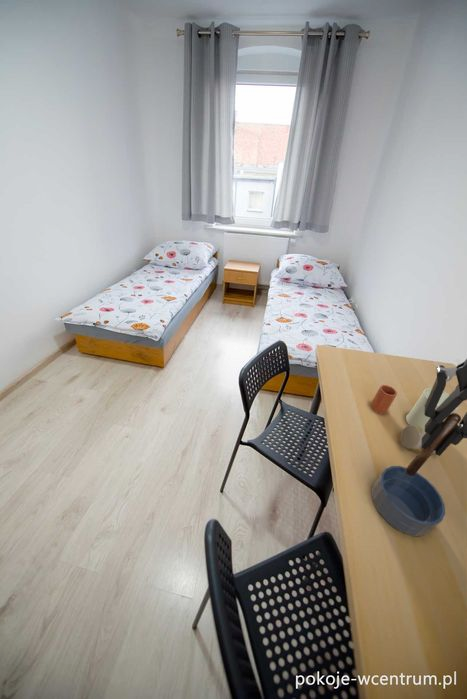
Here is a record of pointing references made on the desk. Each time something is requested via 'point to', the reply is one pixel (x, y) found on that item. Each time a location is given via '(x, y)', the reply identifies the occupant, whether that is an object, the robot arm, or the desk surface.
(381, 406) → the holder
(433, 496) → the bowl
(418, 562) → the desk surface
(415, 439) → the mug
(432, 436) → the robot arm
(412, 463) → the stick
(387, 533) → the desk surface
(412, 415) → the can
